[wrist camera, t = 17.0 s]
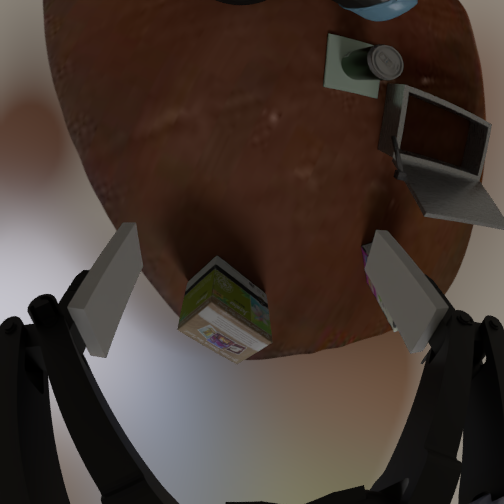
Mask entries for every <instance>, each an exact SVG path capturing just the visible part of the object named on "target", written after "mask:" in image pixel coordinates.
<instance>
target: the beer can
mask: <svg viewBox="0 0 504 504" xmlns="http://www.w3.org/2000/svg"><path fill="white" fill-rule="evenodd" d="M341 65H342V69H343V71H344V73H345V74H346V75H347V76H348V77H350V78H351V79H354V80H392V79H395V78H397V77H398V76H400V75H401V73H402V71H403V60H402V57H401V55H400V54H399V53H398V51H397V50H395V49H394V48H393V47H390V46H387V45H382V44H378V45H374V46H370V47H366V48H362V49H358V50H354V51H351V52H348V53H346V54H345V55H344V56H343V58H342V62H341Z"/></svg>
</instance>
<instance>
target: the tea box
mask: <svg viewBox="0 0 504 504" xmlns="http://www.w3.org/2000/svg"><path fill="white" fill-rule="evenodd" d="M178 330H179V331H180V332H182V333H184V334H185V335H187V336H189V337H190V338H192V339H194V340H196V341H197V342H199V343H200V344H202V345H204V346H206V347H207V348H209V349H211V350H213V351H214V352H216V353H218V354H220V355H221V356H223V357H225V358H227V359H228V360H230V361H232V362H234V363H236V364H238V363H240V362H242V361H243V360H245V359H247V358H248V357H250V356H251V355H253V354H255V353H256V352H258V351H259V350H261V349H262V348H264V347H266V346H267V345H269V344H270V343H272V334H271V327H270V319H269V311H268V303H267V296H266V294H265V293H264V292H263V291H262V290H260V289H259V288H258V287H257V286H255V285H254V284H253V283H252V282H250V281H249V280H248V279H246V278H245V277H244V276H243V275H241V274H240V273H239V272H238V271H237V270H235V269H234V268H233V267H231V266H230V265H229V264H228V263H227V262H225V261H224V260H223V259H221V258H220V257H219V256H218V255H217V256H216V257H214V258H213V259H212V260H211V261H210V262H209V263H208V264H207V265H206V266H205V267H204V268H202V269H201V270H200V271H199V272H198V273H197V274H196V275H195V276H194V277H193V278H192V279H191V280H190V281H188V284H187V287H186V291H185V296H184V300H183V305H182V310H181V314H180V319H179V324H178Z"/></svg>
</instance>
